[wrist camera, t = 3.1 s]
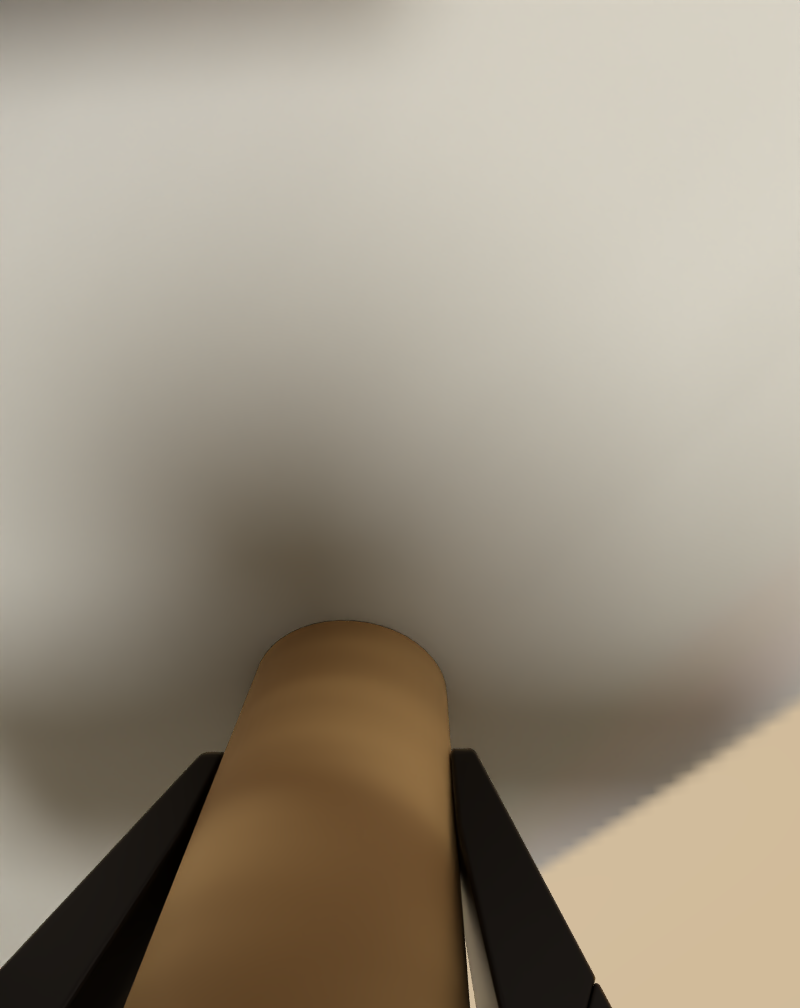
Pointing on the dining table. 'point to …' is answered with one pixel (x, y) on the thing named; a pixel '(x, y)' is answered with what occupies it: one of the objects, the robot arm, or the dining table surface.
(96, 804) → the dining table surface
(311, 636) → the peg
